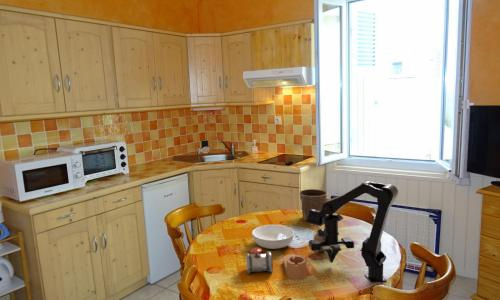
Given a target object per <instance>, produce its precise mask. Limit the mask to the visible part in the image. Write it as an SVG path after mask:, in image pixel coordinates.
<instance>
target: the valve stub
mask: <svg viewBox="0 0 500 300" xmlns="http://www.w3.org/2000/svg"><path fill="white" fill-rule="evenodd" d="M262 252H263V249H262V247H252V248H250V253H251V254H250V253H245V254H246V255H245V256H246V259H245V260H246V261H245V262H246V272H247V274H251V273H254V272H255V273H256V272H267V273H273V271H274V269H273V268H274V266H273V254H272V252H271V250H270V251H266V253H262Z"/></svg>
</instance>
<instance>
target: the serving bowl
mask: <svg viewBox="0 0 500 300" xmlns="http://www.w3.org/2000/svg"><path fill="white" fill-rule="evenodd" d="M279 233H282V234H284V235H286V236H287V237H288V238H286V239H282V240H277V239H276V238H277V235H278V234H279ZM251 235H252V238H253V241H254V242H255V243H256V245H258V246H260V247H261V248H264V249H269V250H270V249H274V250H276V249H282V248H284V247H287V246H289V245H290V244H291V243H292V241H293V240H294V236H295V232H294V229H292V228H291V227H289V226H286V225H280V224H264V225H261V226H256V228H254V229H253V230H252V232H251Z"/></svg>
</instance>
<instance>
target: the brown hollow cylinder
mask: <svg viewBox="0 0 500 300" xmlns="http://www.w3.org/2000/svg"><path fill="white" fill-rule="evenodd" d="M282 264H283V267H284V270H285V274H286V276H287V277H288V278H289V279H291V280H296V281H297V280H298V281H299V280H304V279H305V278H306V277H307V271H308V270H307V266H308V265H307V258H306V257H305V256H302V255H298V254H293V253H292V254H286V255H284V256H283V263H282Z"/></svg>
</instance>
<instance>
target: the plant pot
mask: <svg viewBox="0 0 500 300" xmlns="http://www.w3.org/2000/svg"><path fill="white" fill-rule="evenodd" d="M298 193H299V196H300V201H301V203H300V204H301V211H302V212H301V213H302V219H303V220H304V221H306V222H307V218H308V214H309V210H311V209H315V210H318V211H321V210H322V207H323V204H324V203H325V202H326V199H327V195H328V192H327V191H325V190H323V189H316V188H315V189H314V188H310V189H302V190H299V192H298Z"/></svg>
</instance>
